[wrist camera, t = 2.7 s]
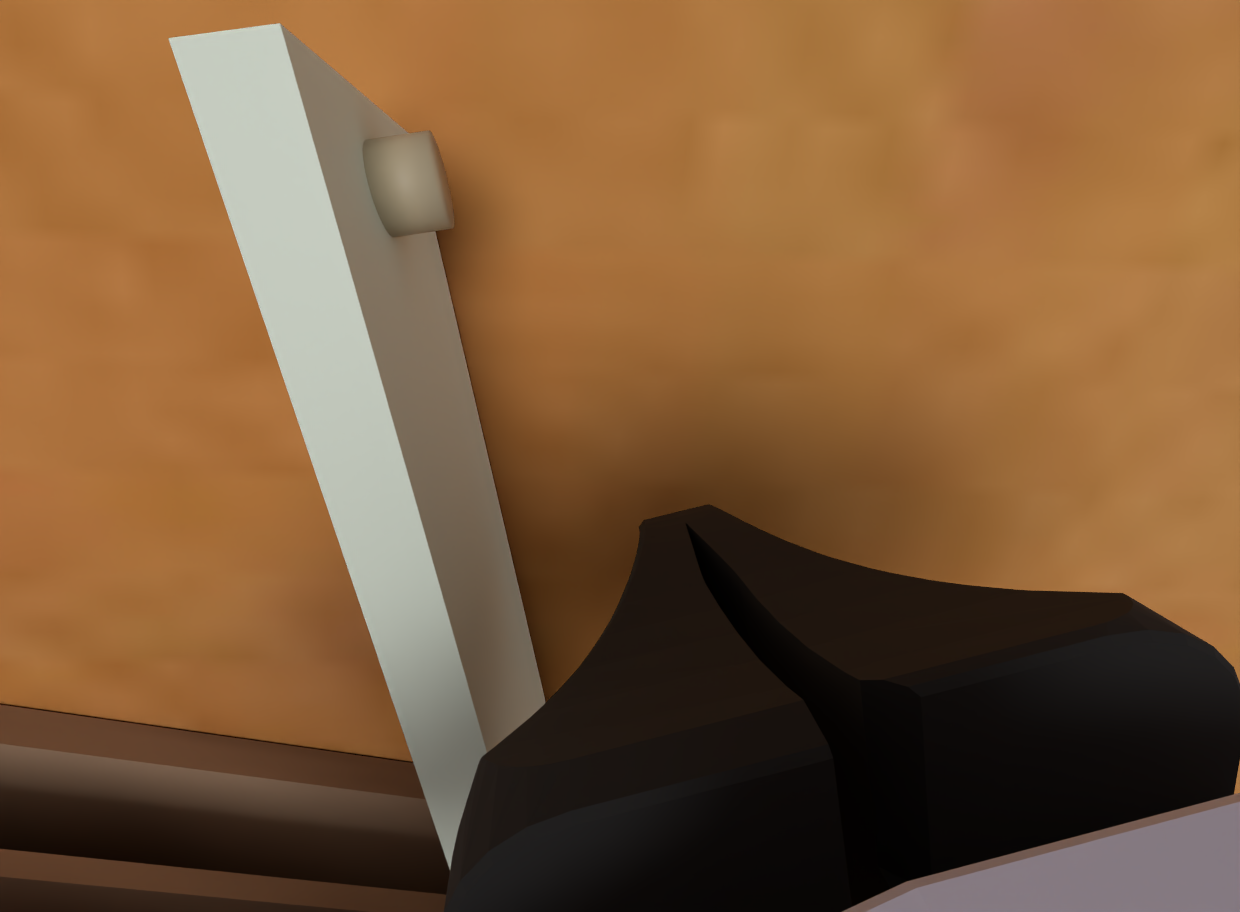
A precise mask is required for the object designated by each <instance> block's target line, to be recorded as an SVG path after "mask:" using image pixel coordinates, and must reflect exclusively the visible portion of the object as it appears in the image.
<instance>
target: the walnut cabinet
mask: <svg viewBox="0 0 1240 912" xmlns="http://www.w3.org/2000/svg"><path fill="white" fill-rule="evenodd" d="M449 874H450V869H449V866H448V863H447V860H446V857H445V854H444V851H443V848H442V845H441V842H440V839H439V836H438V834H437V831H436V828H435V825H434V822H433V819H432V816H431V813H430V810H429V807H428V804H427V801H426V798H425V795H424V792H423V789H422V786H421V783H420V780H419V777H418V774H417V771H416V768H415V766H414V763H409V762H402V761H395V760H388V759H381V758H374V757H367V756H360V755H353V754H346V753H338V752H331V751H324V750H317V749H310V748H303V747H296V746H289V745H282V744H275V743H268V742H261V741H254V740H247V739H240V738H233V737H225V736H218V735H211V734H204V733H197V732H190V731H183V730H176V729H169V728H162V727H155V726H148V725H141V724H134V723H127V722H120V721H112V720H105V719H98V718H91V717H84V716H77V715H70V714H63V713H56V712H49V711H42V710H35V709H28V708H21V707H14V706H7V705H0V912H444V906H445V900H446V894H447V887H448V881H449Z"/></svg>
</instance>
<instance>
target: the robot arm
mask: <svg viewBox="0 0 1240 912" xmlns="http://www.w3.org/2000/svg"><path fill="white" fill-rule="evenodd" d="M639 530H640V538H639V544H638V549H637V554H636V557H635V561H634V564H633V568H632V571H631V574H630V577H629V580H628V582H627V585H626V587H625V590H624V592H623V594H622V597H621V599H620V602H619V604H618V606H617V608H616V610H615V612H614V614H613V616H612V618H611V620H610V622H609V623H608V625H607V627H606V628H605V630H604V632H603V634H602V635H601V637H600V639H599V640H598V641H597V643H596V644H595V646H594V647H593V649H592V650H591V652H590V653H589V655H588V656H587V657H586V659H585V660H584V661H583V663H582V664H581V665H580V667H579V668H578V669H577V670H576V671H575V673H574V674H573V675H572V676H571V677H570V678H569V679H568V680H567V681H566V682H565V684H564V685H563V686H562V687H561V688H560V689H559V690H558V691H557V692H556V693H555V694H554V695H553V696H552V697H551V698H550V699H549V700H548V701H547V702H546V703H545V704H544V705H543V706H542V707H541V708H540V709H539V710H538V711H537V712H535V713H534V714H533V715H532V716H531V717H530V718H529V719H527V720H526V721H525V722H524V723H523V724H521V725H520V726H519V727H518V728H517V729H515V730H514V731H513V732H512V733H511V734H509V735H508V736H507V737H506V738H505V739H503V740H502V741H501V742H500V743H499V744H497V745H496V746H495V747H494V748H492V749H491V750H490V751H489V752H487V753H486V754H485V755H483V756H482V757H481V759H480V761H479V764H478V767H477V770H476V773H475V776H474V779H473V782H472V786H471V789H470V792H469V795H468V798H467V802H466V805H465V808H464V812H463V815H462V818H461V821H460V825H459V828H458V832H457V836H456V841H455V846H454V850H453V855H452V861H451V868H450V874H449V881H448V887H447V894H446V900H445V906H444V912H1240V793H1238V794H1234V790H1235V784H1236V778H1237V772H1238V766H1239V760H1240V683H1239V680H1238V678H1237V675H1236V672H1235V670H1234V667H1233V666H1232V665H1231V664H1230V663H1229V662H1228V661H1227V660H1226V659H1225V658H1224V657H1223V656H1222V655H1221V654H1220V653H1219V652H1218V651H1217V650H1216V649H1215V648H1214V647H1213V646H1212V645H1210V644H1208V643H1207V642H1205V641H1203V640H1202V639H1200V638H1198V637H1196V636H1195V635H1193V634H1191V633H1190V632H1188V631H1186V630H1185V629H1183V628H1181V627H1180V626H1178V625H1176V624H1174V623H1173V622H1171V621H1169V620H1168V619H1166V618H1164V617H1163V616H1161V615H1159V614H1158V613H1156V612H1154V611H1152V610H1151V609H1149V608H1147V607H1146V606H1144V605H1142V604H1141V603H1139V602H1137V601H1136V600H1134V599H1132V598H1131V597H1129V596H1127V595H1125V594H1123V593H1097V592H1062V591H1027V590H1013V589H1002V588H991V587H981V586H970V585H961V584H954V583H946V582H939V581H932V580H926V579H921V578H915V577H910V576H904V575H899V574H893V573H889V572H884V571H880V570H875V569H871V568H867V567H863V566H860V565H856V564H852V563H849V562H845V561H842V560H838V559H834V558H831V557H828V556H825V555H822V554H819V553H816V552H814V551H811V550H808V549H806V548H803V547H800V546H798V545H795V544H792V543H790V542H787V541H785V540H783V539H780V538H778V537H776V536H773V535H771V534H769V533H767V532H765V531H762V530H760V529H758V528H756V527H754V526H752V525H750V524H748V523H746V522H744V521H742V520H740V519H738V518H736V517H734V516H732V515H730V514H728V513H726V512H724V511H722V510H720V509H718V508H716V507H714V506H712V505H709V504H708V505H704V506H700V507H696V508H691V509H687V510H683V511H679V512H675V513H671V514H667V515H663V516H659V517H655V518H651V519H646V520H644V521H643V522H642V523H641V525H640V526H639Z"/></svg>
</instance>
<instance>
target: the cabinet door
mask: <svg viewBox="0 0 1240 912" xmlns="http://www.w3.org/2000/svg"><path fill="white" fill-rule="evenodd" d="M169 41H170V44H171V47H172V50H173V53H174V56H175V59H176V62H177V65H178V68H179V71H180V74H181V77H182V80H183V83H184V86H185V88H186V91H187V94H188V97H189V100H190V103H191V106H192V109H193V112H194V115H195V118H196V121H197V124H198V127H199V130H200V133H201V136H202V139H203V142H204V145H205V148H206V151H207V154H208V156H209V159H210V162H211V165H212V168H213V171H214V174H215V177H216V180H217V183H218V186H219V189H220V192H221V195H222V198H223V201H224V204H225V207H226V210H227V213H228V216H229V219H230V222H231V224H232V227H233V230H234V233H235V236H236V239H237V242H238V245H239V248H240V251H241V254H242V257H243V260H244V263H245V266H246V269H247V272H248V275H249V278H250V281H251V284H252V287H253V290H254V292H255V295H256V298H257V301H258V304H259V307H260V310H261V313H262V316H263V319H264V322H265V325H266V328H267V331H268V334H269V337H270V340H271V343H272V346H273V349H274V352H275V355H276V358H277V360H278V363H279V366H280V369H281V372H282V375H283V378H284V381H285V384H286V387H287V390H288V393H289V396H290V399H291V402H292V405H293V408H294V411H295V414H296V417H297V420H298V423H299V426H300V428H301V431H302V434H303V437H304V440H305V443H306V446H307V449H308V452H309V455H310V458H311V461H312V464H313V467H314V470H315V473H316V476H317V479H318V482H319V485H320V488H321V491H322V494H323V496H324V499H325V502H326V505H327V508H328V511H329V514H330V517H331V520H332V523H333V526H334V529H335V532H336V535H337V538H338V541H339V544H340V547H341V550H342V553H343V556H344V559H345V562H346V564H347V567H348V570H349V573H350V576H351V579H352V582H353V585H354V588H355V591H356V594H357V597H358V600H359V603H360V606H361V609H362V612H363V615H364V618H365V621H366V624H367V627H368V630H369V632H370V635H371V638H372V641H373V644H374V647H375V650H376V653H377V656H378V659H379V662H380V665H381V668H382V671H383V674H384V677H385V680H386V683H387V686H388V689H389V692H390V695H391V698H392V700H393V703H394V706H395V709H396V712H397V715H398V718H399V721H400V724H401V727H402V730H403V733H404V736H405V739H406V742H407V745H408V748H409V751H410V754H411V757H412V760H413V763H414V766H415V768H416V771H417V774H418V777H419V780H420V783H421V786H422V789H423V792H424V795H425V798H426V801H427V804H428V807H429V810H430V813H431V816H432V819H433V822H434V825H435V828H436V831H437V834H438V836H439V839H440V842H441V845H442V848H443V851H444V854H445V857H446V860H447V863H448V866H449V869H450V868H451V861H452V855H453V850H454V846H455V841H456V836H457V832H458V828H459V825H460V821H461V818H462V815H463V812H464V808H465V805H466V802H467V798H468V795H469V792H470V789H471V786H472V782H473V779H474V776H475V773H476V770H477V767H478V764H479V761H480V759H481V757H482V756H483V755H485V754H486V753H487V752H489V751H490V750H491V749H492V748H494V747H495V746H496V745H497V744H499V743H500V742H501V741H502V740H503V739H505V738H506V737H507V736H508V735H509V734H511V733H512V732H513V731H514V730H515V729H517V728H518V727H519V726H520V725H521V724H523V723H524V722H525V721H526V720H527V719H529V718H530V717H531V716H532V715H533V714H534V713H535V712H537V711H538V710H539V709H540V708H541V707H542V706H543V705H544V704H545V703H546V701H545V697H544V693H543V689H542V684H541V680H540V676H539V672H538V667H537V663H536V659H535V654H534V650H533V646H532V642H531V637H530V633H529V629H528V625H527V620H526V616H525V612H524V608H523V603H522V599H521V595H520V590H519V586H518V582H517V578H516V573H515V569H514V565H513V561H512V556H511V552H510V548H509V544H508V539H507V535H506V531H505V526H504V522H503V518H502V514H501V509H500V505H499V501H498V497H497V492H496V488H495V484H494V480H493V475H492V471H491V467H490V462H489V458H488V454H487V450H486V445H485V441H484V437H483V433H482V428H481V424H480V420H479V416H478V411H477V407H476V403H475V398H474V394H473V390H472V386H471V381H470V377H469V373H468V369H467V364H466V360H465V356H464V351H463V347H462V343H461V339H460V334H459V330H458V326H457V322H456V317H455V313H454V309H453V305H452V300H451V296H450V292H449V287H448V283H447V279H446V275H445V270H444V266H443V262H442V258H441V253H440V249H439V245H438V241H437V236H436V232H435V231H439V230H446V229H452V228H454V211H453V204H452V198H451V193H450V188H449V184H448V180H447V176H446V172H445V168H444V164H443V161H442V158H441V154H440V151H439V149H438V146H437V143H436V141H435V138H434V136H433V134H432V133H431V131H422V132H415V133H408V132H407V131H405V130H404V129H403V128H402V127H401V126H400V125H398V124H397V123H396V122H395V121H394V120H392V119H391V118H390V117H389V116H388V115H387V114H385V113H384V112H383V111H382V110H381V109H380V108H378V107H377V106H376V105H375V104H374V103H373V102H371V101H370V100H369V99H368V98H367V97H366V96H364V95H363V94H362V93H361V92H360V91H359V90H357V89H356V88H355V87H354V86H353V85H352V84H350V83H349V82H348V81H347V80H346V79H344V78H343V77H342V76H341V75H340V74H339V73H337V72H336V71H335V70H334V69H333V68H332V67H330V66H329V65H328V64H327V63H326V62H325V61H323V60H322V59H321V58H320V57H319V56H318V55H316V54H315V53H314V52H313V51H312V50H311V49H309V48H308V47H307V46H306V45H305V44H304V43H302V42H301V41H300V40H299V39H298V38H296V37H295V36H294V35H293V34H292V33H291V32H289V31H288V30H287V29H286V28H285V27H284V26H282V25H281V24H280V23H279V24H271V25H264V26H256V27H249V28H241V29H234V30H226V31H219V32H211V33H204V34H197V35H189V36H182V37H174V38H169Z"/></svg>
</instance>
